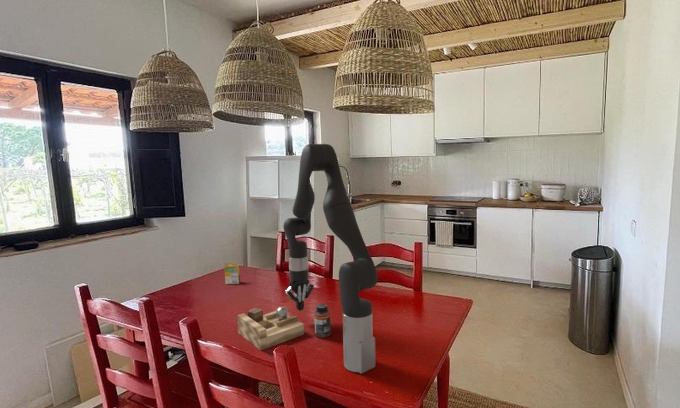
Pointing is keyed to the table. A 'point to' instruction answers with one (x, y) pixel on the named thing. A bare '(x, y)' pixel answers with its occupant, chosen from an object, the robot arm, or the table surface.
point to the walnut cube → (256, 314)
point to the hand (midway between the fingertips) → (300, 309)
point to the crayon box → (232, 273)
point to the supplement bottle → (322, 321)
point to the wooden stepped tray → (269, 330)
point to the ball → (281, 313)
